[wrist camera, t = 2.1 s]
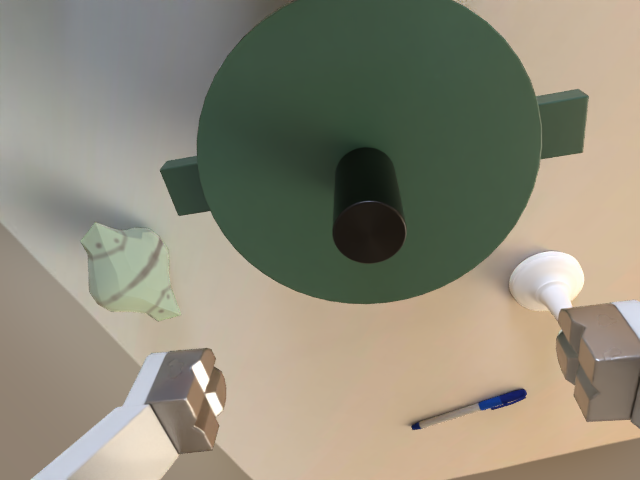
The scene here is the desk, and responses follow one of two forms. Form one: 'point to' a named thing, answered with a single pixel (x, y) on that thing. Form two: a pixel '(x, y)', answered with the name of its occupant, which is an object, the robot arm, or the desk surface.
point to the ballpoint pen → (474, 408)
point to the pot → (557, 140)
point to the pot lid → (369, 146)
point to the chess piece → (547, 282)
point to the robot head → (129, 271)
